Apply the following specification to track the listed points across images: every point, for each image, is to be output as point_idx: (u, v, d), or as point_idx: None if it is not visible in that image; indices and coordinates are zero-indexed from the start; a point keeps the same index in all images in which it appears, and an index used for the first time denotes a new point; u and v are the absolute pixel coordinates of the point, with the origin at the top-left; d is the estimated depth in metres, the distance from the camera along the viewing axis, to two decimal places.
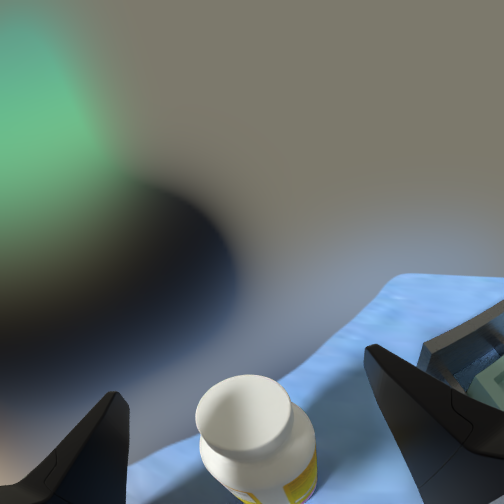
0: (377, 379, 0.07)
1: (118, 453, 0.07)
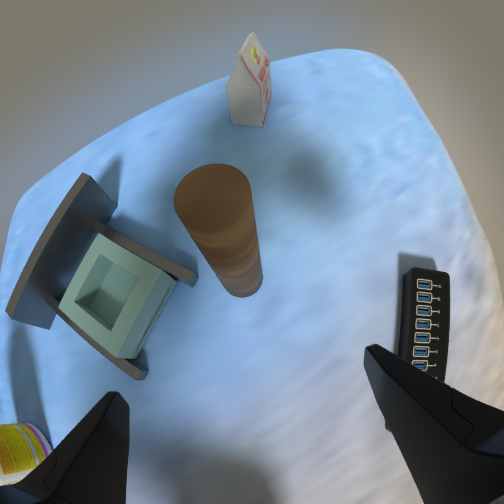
0: (377, 379, 0.07)
1: (118, 453, 0.07)
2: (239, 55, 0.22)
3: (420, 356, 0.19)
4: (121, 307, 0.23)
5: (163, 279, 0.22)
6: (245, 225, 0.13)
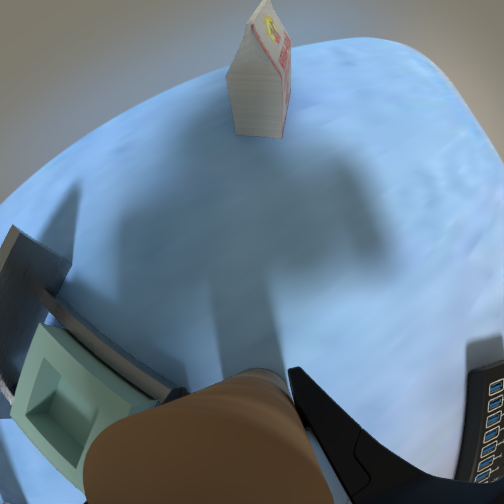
0: (295, 404, 0.07)
1: None
2: (249, 24, 0.12)
3: (484, 468, 0.08)
4: (86, 424, 0.13)
5: (136, 412, 0.12)
6: None
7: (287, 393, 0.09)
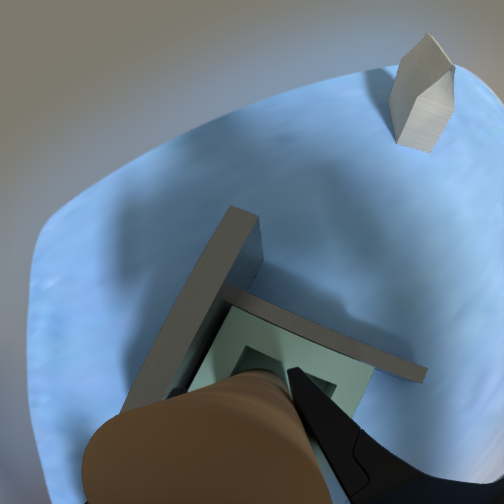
0: (294, 404, 0.07)
1: None
2: (449, 65, 0.13)
3: None
4: None
5: None
6: None
7: (286, 392, 0.09)
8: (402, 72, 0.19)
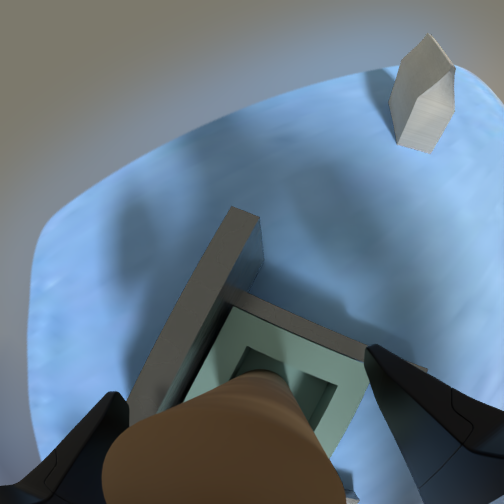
0: (377, 379, 0.07)
1: None
2: (449, 65, 0.13)
3: None
4: None
5: None
6: None
7: (290, 392, 0.09)
8: (402, 73, 0.19)
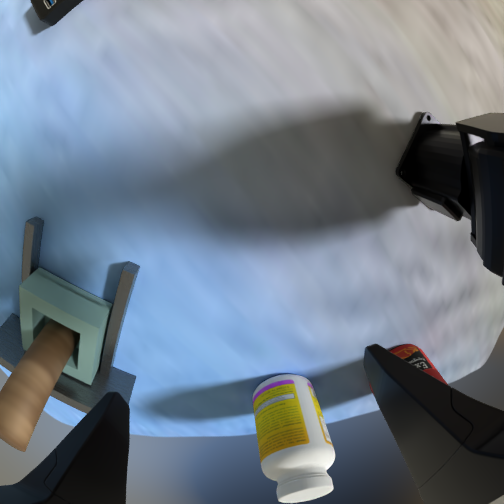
0: (377, 379, 0.07)
1: (118, 453, 0.07)
2: None
3: None
4: None
5: (29, 283, 0.17)
6: (8, 414, 0.10)
7: (21, 358, 0.15)
8: None
